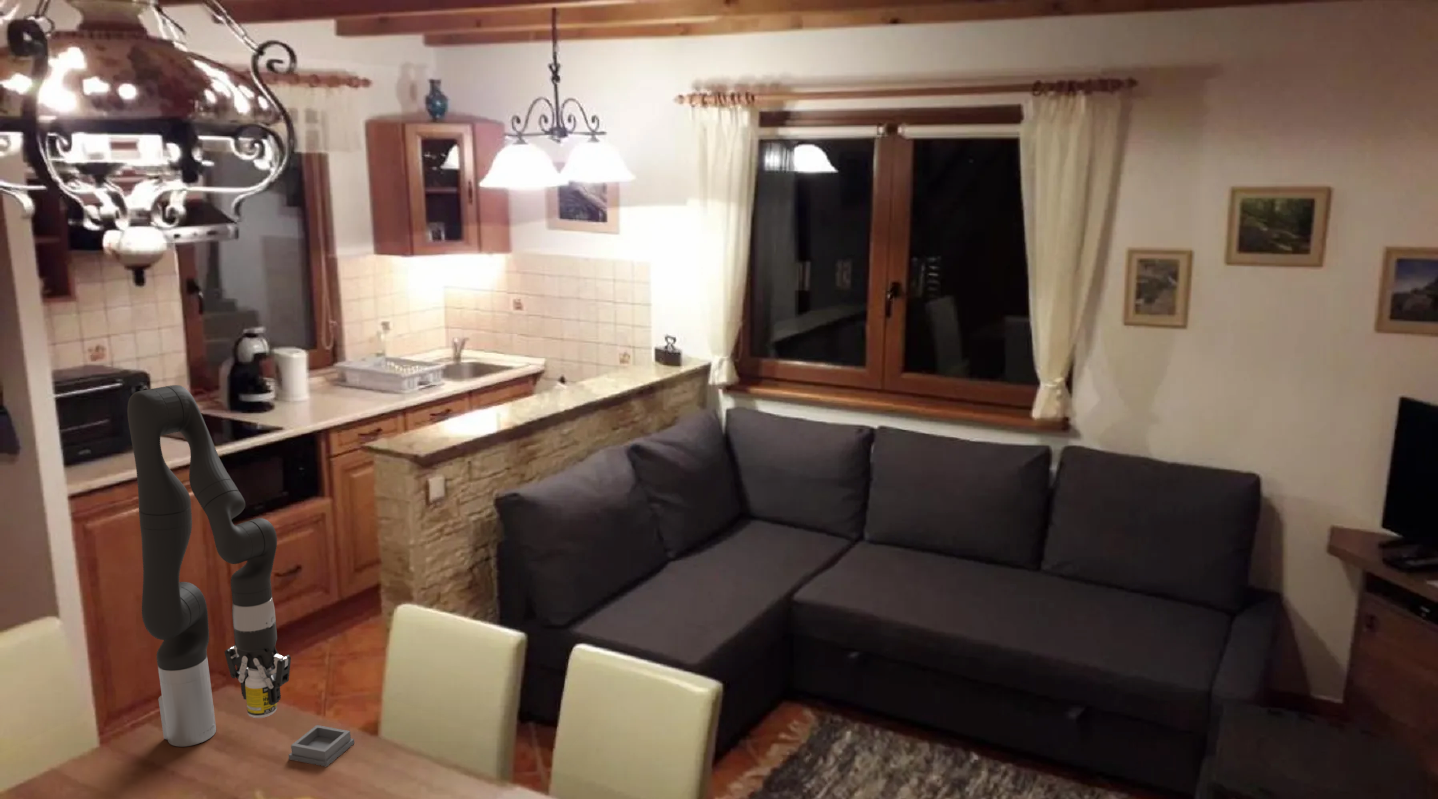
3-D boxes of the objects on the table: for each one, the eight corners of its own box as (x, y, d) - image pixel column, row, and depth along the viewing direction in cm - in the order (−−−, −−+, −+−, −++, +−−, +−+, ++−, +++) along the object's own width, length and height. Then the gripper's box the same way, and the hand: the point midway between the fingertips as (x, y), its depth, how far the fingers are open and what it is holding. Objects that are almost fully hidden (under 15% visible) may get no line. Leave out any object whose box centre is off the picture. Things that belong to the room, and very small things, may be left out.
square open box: (289, 759, 217) (287, 746, 216) (317, 736, 225) (316, 723, 224) (326, 766, 214) (325, 753, 213) (354, 743, 222) (353, 730, 222)
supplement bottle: (266, 720, 208) (262, 674, 206) (241, 717, 209) (237, 671, 207) (283, 706, 213) (279, 661, 211) (258, 703, 214) (254, 658, 212)
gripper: (209, 623, 205) (217, 703, 209) (271, 635, 201) (279, 716, 205) (237, 607, 212) (245, 685, 216) (298, 618, 208) (305, 697, 212)
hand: (261, 700), depth 210 cm, fingers closed on supplement bottle, 5 cm apart
